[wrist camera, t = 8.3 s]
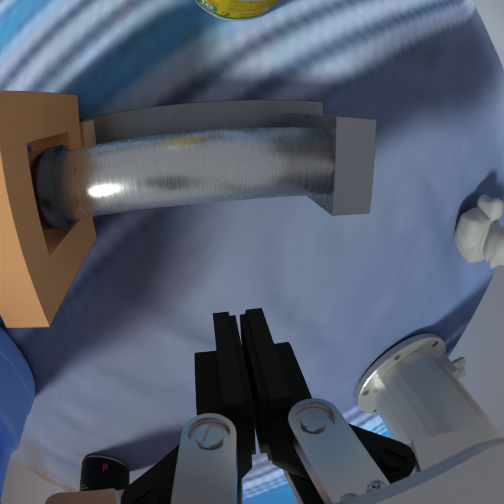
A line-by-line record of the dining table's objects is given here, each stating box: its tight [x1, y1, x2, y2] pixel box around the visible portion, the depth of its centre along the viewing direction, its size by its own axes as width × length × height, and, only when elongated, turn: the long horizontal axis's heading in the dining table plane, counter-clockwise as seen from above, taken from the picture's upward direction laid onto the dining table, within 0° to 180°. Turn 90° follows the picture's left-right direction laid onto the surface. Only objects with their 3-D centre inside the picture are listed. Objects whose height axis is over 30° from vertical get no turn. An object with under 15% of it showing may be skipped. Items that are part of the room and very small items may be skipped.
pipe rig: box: [26, 100, 376, 231], centre depth 14 cm, size 21×6×7 cm, turn 91°
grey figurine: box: [455, 194, 504, 268], centre depth 21 cm, size 5×7×8 cm
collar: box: [0, 91, 97, 328], centre depth 12 cm, size 2×9×9 cm, turn 1°
